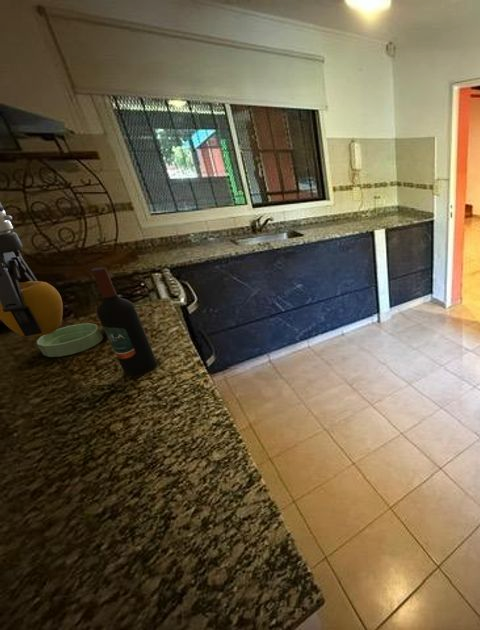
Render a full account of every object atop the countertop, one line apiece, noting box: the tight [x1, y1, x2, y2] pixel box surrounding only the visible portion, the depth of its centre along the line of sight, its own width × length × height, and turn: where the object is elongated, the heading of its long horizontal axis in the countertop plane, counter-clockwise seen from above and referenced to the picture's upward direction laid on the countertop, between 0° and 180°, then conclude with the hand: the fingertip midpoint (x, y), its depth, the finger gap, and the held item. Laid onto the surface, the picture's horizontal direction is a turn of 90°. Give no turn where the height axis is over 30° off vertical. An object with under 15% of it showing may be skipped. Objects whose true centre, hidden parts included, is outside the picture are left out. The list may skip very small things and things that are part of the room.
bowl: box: [36, 323, 104, 358], centre depth 107 cm, size 14×14×4 cm
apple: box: [0, 280, 64, 338], centre depth 80 cm, size 11×11×13 cm
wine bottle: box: [90, 266, 159, 377], centre depth 90 cm, size 8×8×30 cm
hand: (39, 324), depth 82 cm, fingers closed on apple, 11 cm apart
